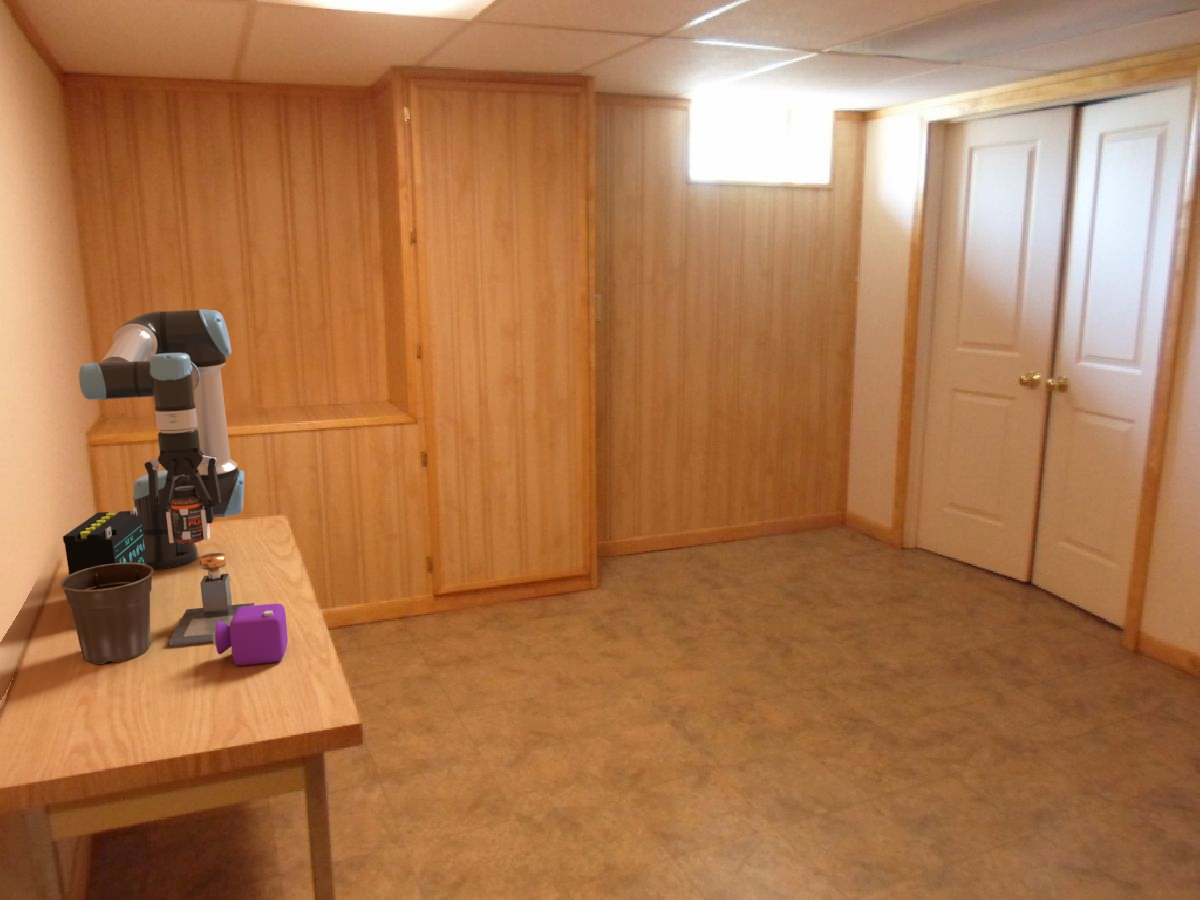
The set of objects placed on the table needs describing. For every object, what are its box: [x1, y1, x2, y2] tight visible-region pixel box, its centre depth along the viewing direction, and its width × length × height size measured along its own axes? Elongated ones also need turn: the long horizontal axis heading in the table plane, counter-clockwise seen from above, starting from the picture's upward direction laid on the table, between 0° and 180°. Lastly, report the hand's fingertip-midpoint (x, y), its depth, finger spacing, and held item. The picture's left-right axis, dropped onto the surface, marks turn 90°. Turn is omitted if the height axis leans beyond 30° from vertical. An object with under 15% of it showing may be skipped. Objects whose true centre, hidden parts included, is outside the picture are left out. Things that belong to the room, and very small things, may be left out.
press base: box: [169, 573, 255, 647], centre depth 194 cm, size 17×14×9 cm
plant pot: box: [60, 563, 155, 665], centre depth 182 cm, size 16×16×16 cm
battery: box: [62, 506, 147, 576], centre depth 208 cm, size 19×10×20 cm, turn 8°
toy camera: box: [212, 603, 289, 666], centre depth 179 cm, size 11×14×10 cm
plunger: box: [199, 552, 227, 581], centre depth 198 cm, size 5×5×7 cm
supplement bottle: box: [171, 486, 204, 544], centre depth 190 cm, size 6×6×11 cm
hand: (190, 539), depth 190 cm, fingers closed on supplement bottle, 6 cm apart
